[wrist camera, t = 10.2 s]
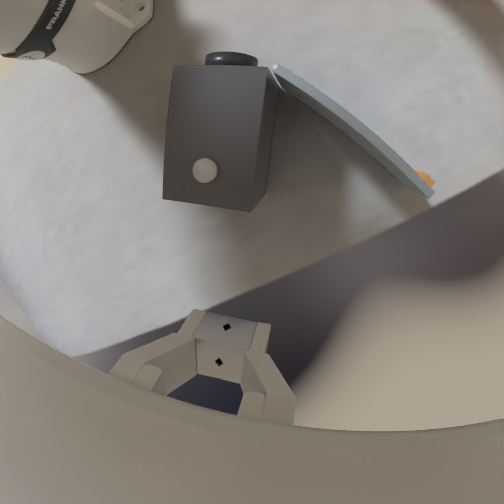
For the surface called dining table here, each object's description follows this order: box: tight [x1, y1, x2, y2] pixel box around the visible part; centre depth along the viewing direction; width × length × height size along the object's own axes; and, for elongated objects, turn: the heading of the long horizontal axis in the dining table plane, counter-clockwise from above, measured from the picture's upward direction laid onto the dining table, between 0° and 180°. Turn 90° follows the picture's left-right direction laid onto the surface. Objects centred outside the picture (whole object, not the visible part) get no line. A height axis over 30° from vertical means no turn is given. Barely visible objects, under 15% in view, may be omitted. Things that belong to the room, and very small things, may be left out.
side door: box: [272, 64, 435, 199], centre depth 22 cm, size 16×2×8 cm, turn 54°
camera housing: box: [163, 52, 279, 212], centre depth 25 cm, size 14×8×9 cm, turn 173°
